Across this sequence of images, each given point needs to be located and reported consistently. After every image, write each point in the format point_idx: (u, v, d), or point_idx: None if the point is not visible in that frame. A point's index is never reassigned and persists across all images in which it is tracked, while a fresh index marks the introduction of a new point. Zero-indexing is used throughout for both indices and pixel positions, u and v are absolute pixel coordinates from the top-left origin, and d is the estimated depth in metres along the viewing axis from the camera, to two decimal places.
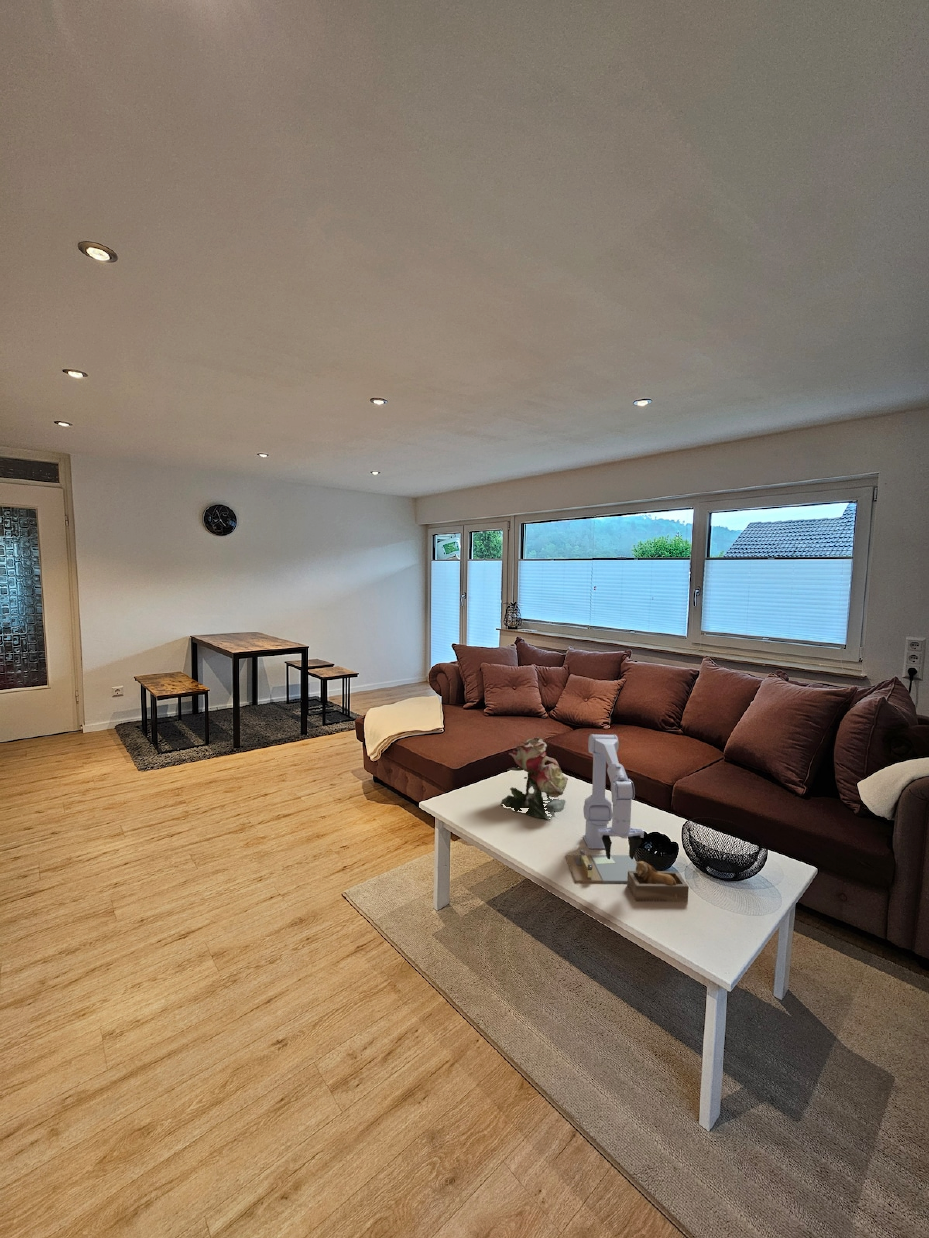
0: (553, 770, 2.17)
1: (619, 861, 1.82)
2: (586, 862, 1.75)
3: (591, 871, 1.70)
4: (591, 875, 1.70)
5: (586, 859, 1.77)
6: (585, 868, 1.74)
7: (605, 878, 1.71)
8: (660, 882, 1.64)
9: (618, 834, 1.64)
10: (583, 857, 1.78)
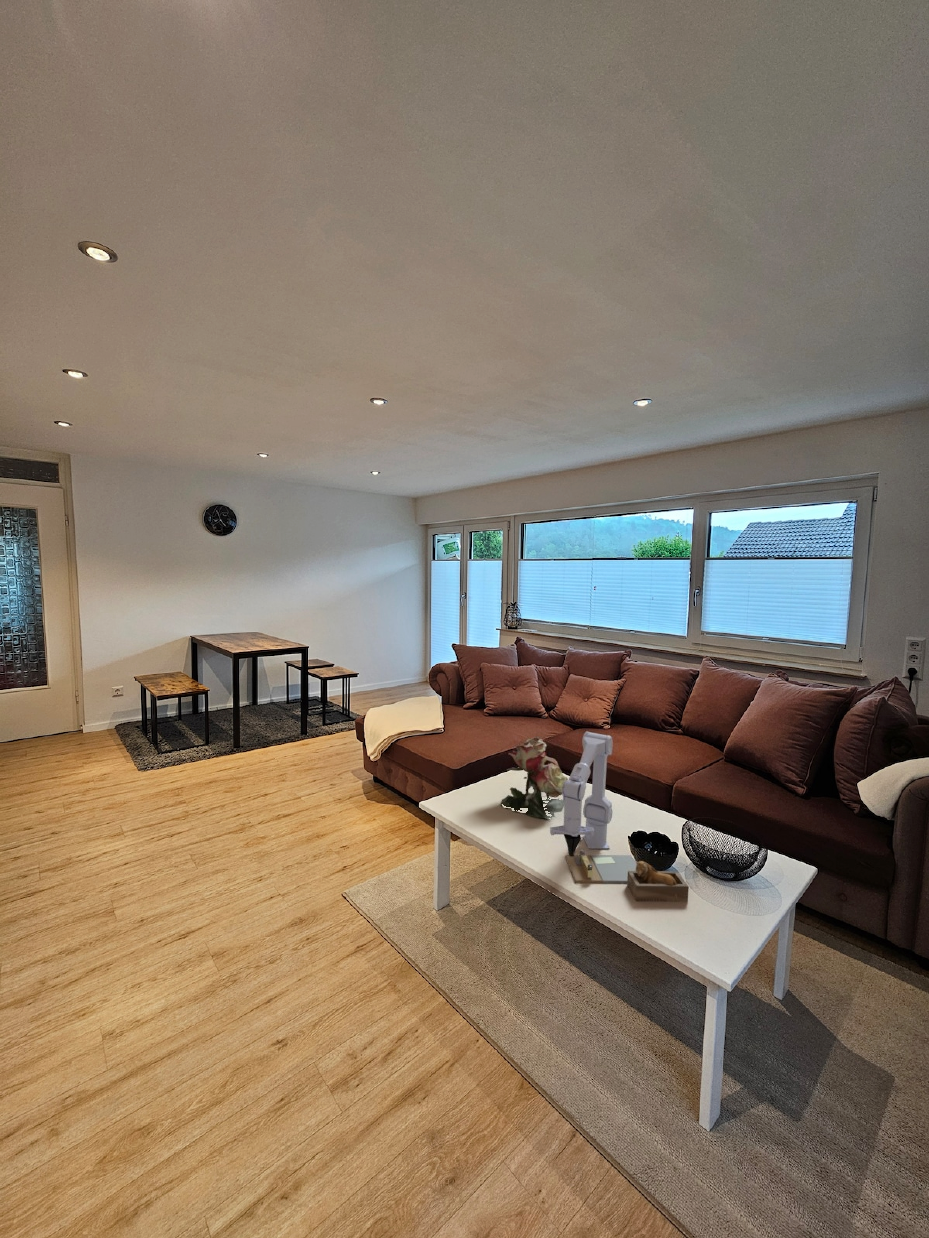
0: (553, 770, 2.17)
1: (619, 861, 1.82)
2: (586, 862, 1.75)
3: (591, 871, 1.70)
4: (591, 875, 1.70)
5: (586, 859, 1.77)
6: (585, 868, 1.74)
7: (605, 878, 1.71)
8: (660, 882, 1.64)
9: (569, 832, 1.70)
10: (583, 857, 1.78)
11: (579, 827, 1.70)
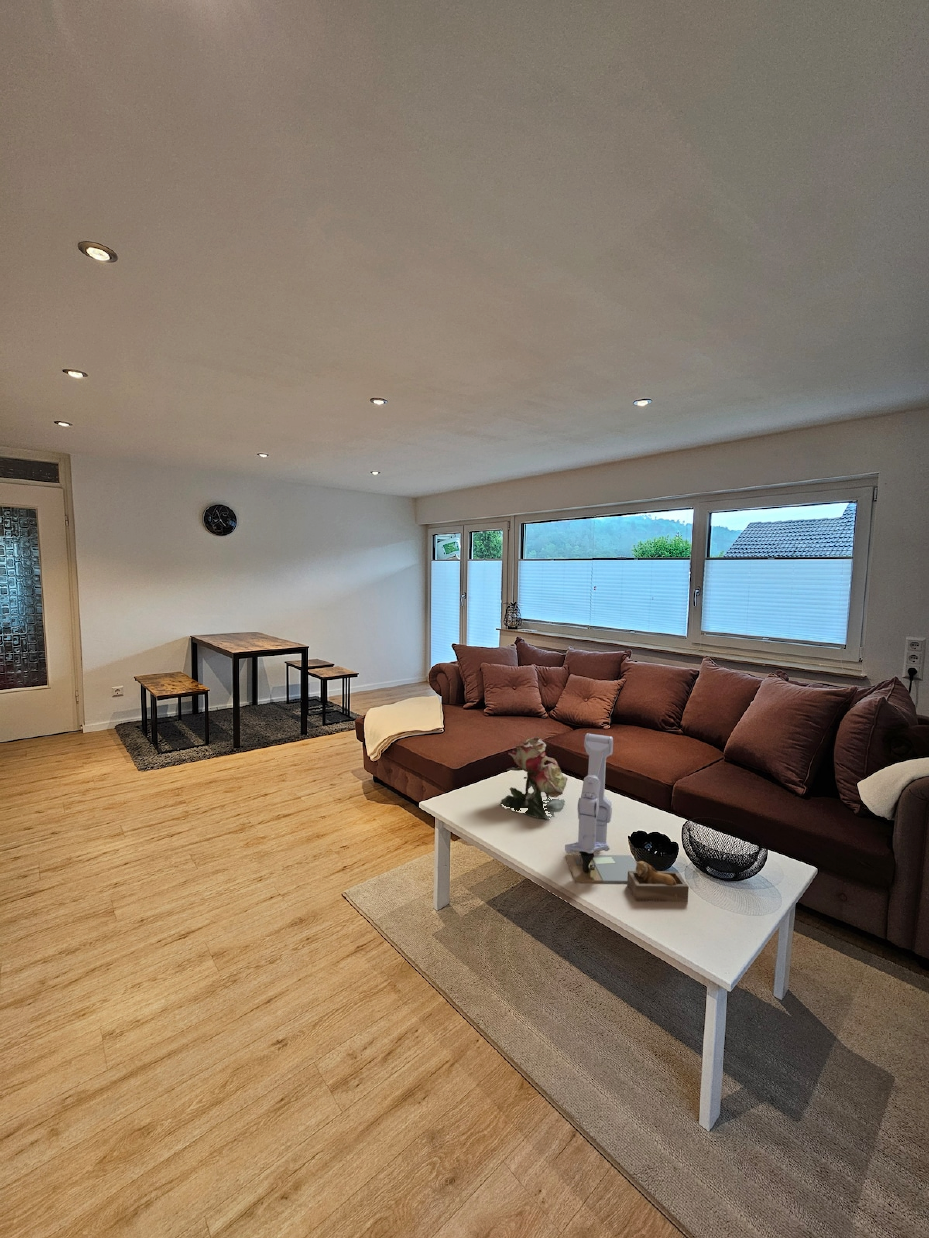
0: (553, 770, 2.17)
1: (619, 861, 1.82)
2: None
3: (594, 871, 1.70)
4: (594, 875, 1.71)
5: None
6: None
7: (605, 878, 1.71)
8: (660, 882, 1.64)
9: (584, 849, 1.70)
10: None
11: (594, 843, 1.71)
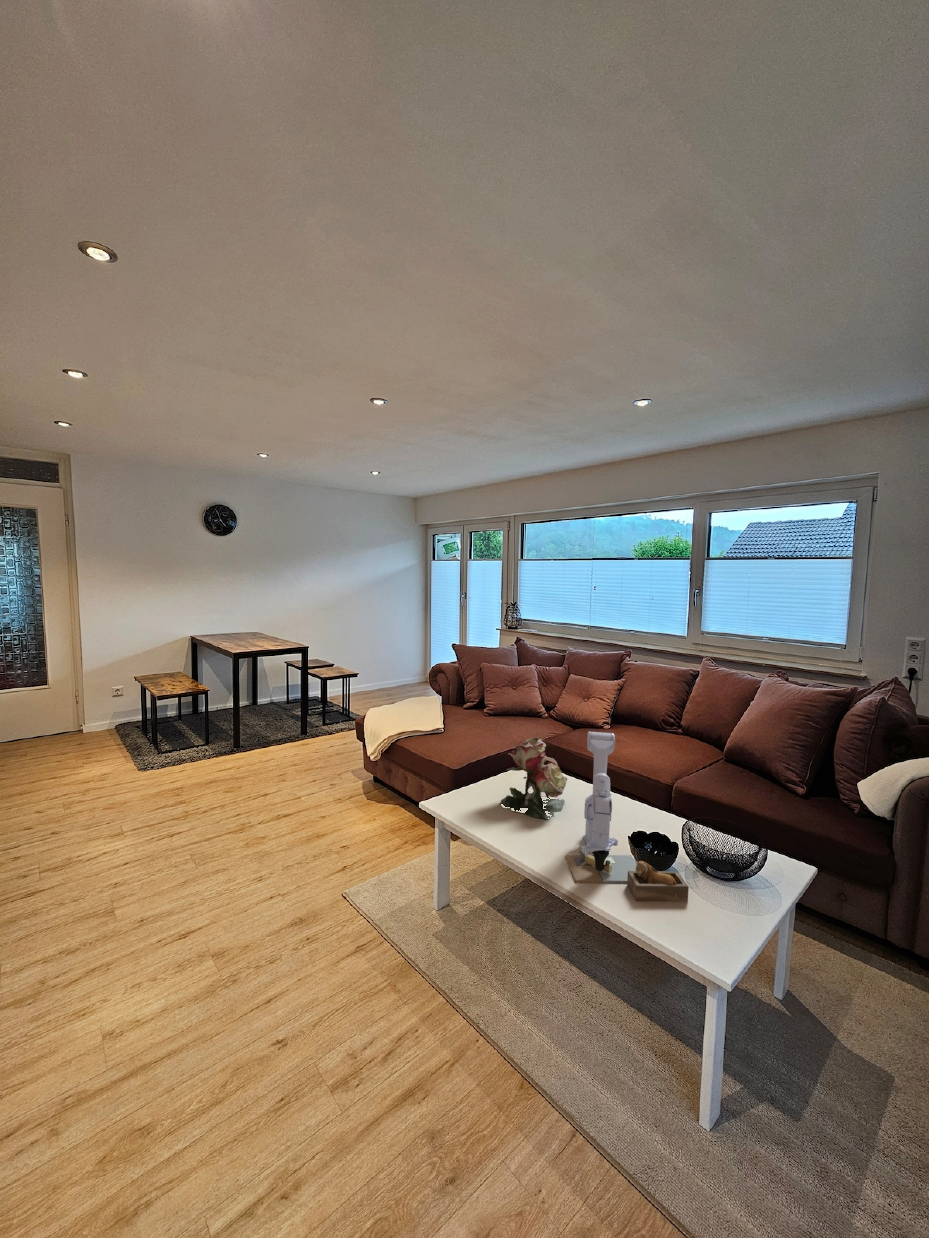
0: (552, 770, 2.17)
1: (619, 861, 1.82)
2: None
3: (610, 866, 1.74)
4: (610, 870, 1.74)
5: (593, 857, 1.78)
6: None
7: (605, 878, 1.71)
8: (660, 882, 1.64)
9: (602, 848, 1.71)
10: (589, 856, 1.79)
11: (608, 840, 1.73)
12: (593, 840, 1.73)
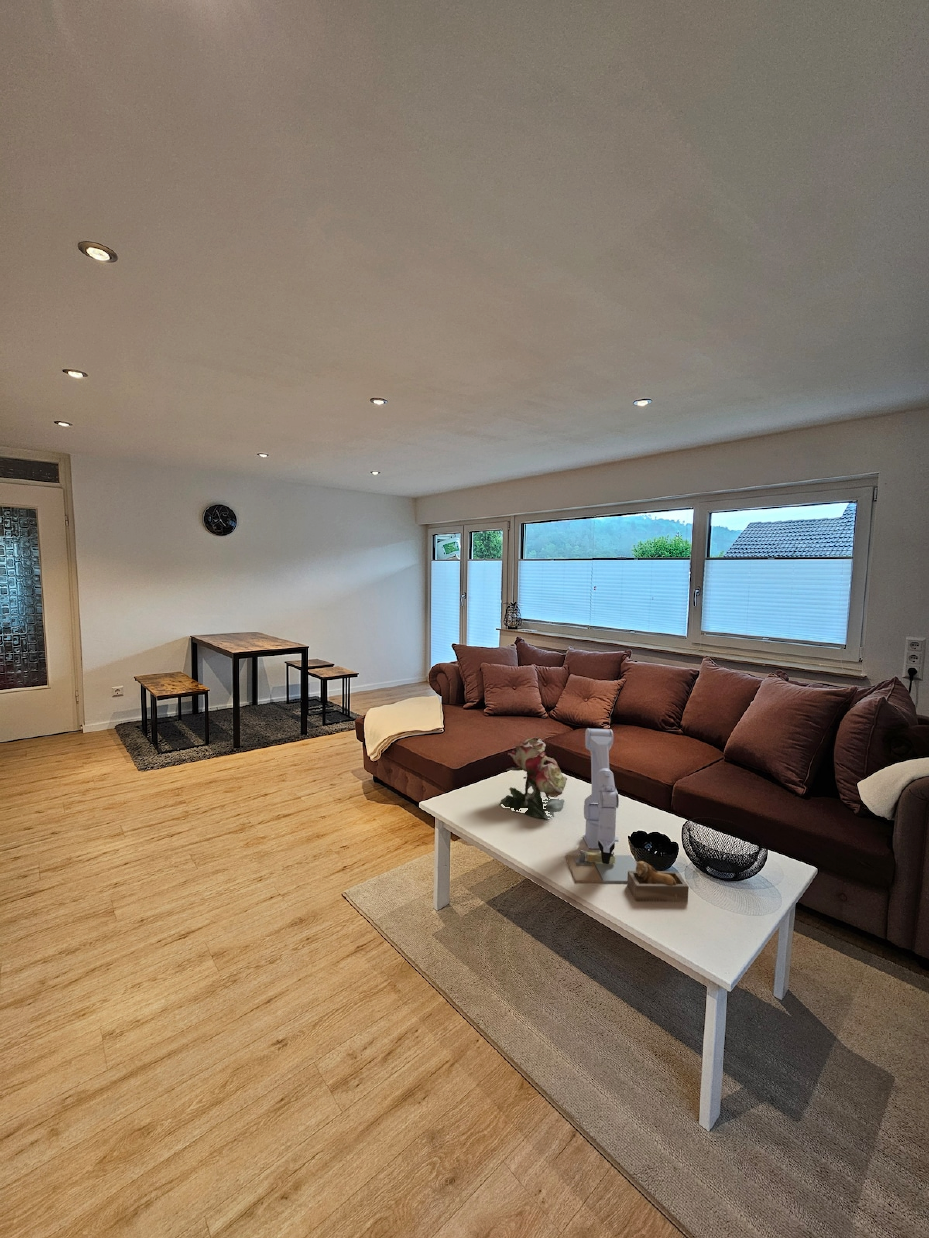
0: (552, 770, 2.17)
1: (619, 861, 1.82)
2: (600, 854, 1.80)
3: None
4: None
5: (594, 853, 1.81)
6: None
7: (605, 878, 1.71)
8: (660, 882, 1.64)
9: (614, 840, 1.76)
10: (591, 854, 1.81)
11: None
12: (605, 836, 1.76)
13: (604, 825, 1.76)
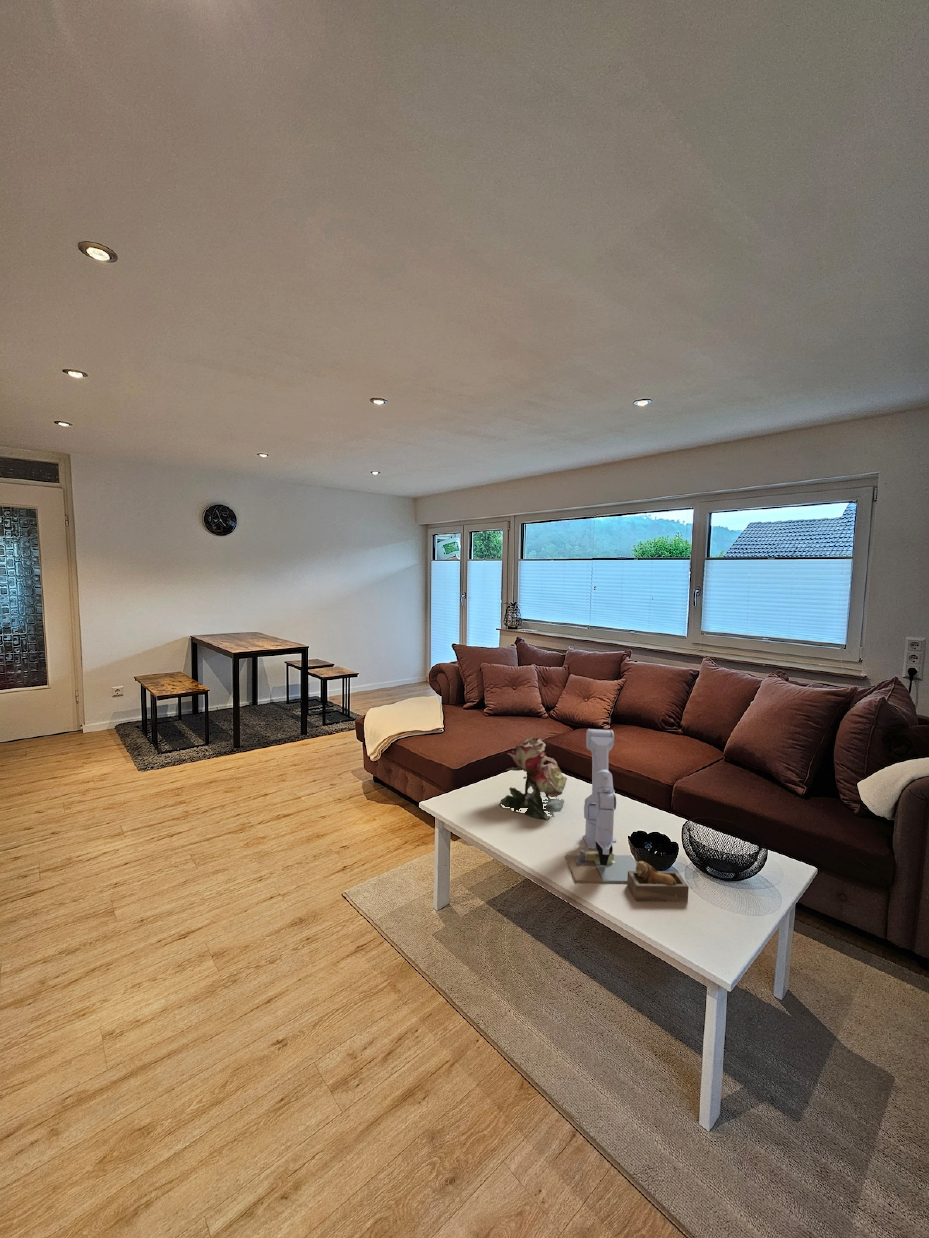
0: (552, 770, 2.17)
1: (619, 861, 1.82)
2: None
3: None
4: None
5: (594, 852, 1.82)
6: None
7: (605, 878, 1.71)
8: (660, 882, 1.64)
9: (612, 841, 1.76)
10: (591, 853, 1.81)
11: None
12: (603, 838, 1.75)
13: (601, 826, 1.75)
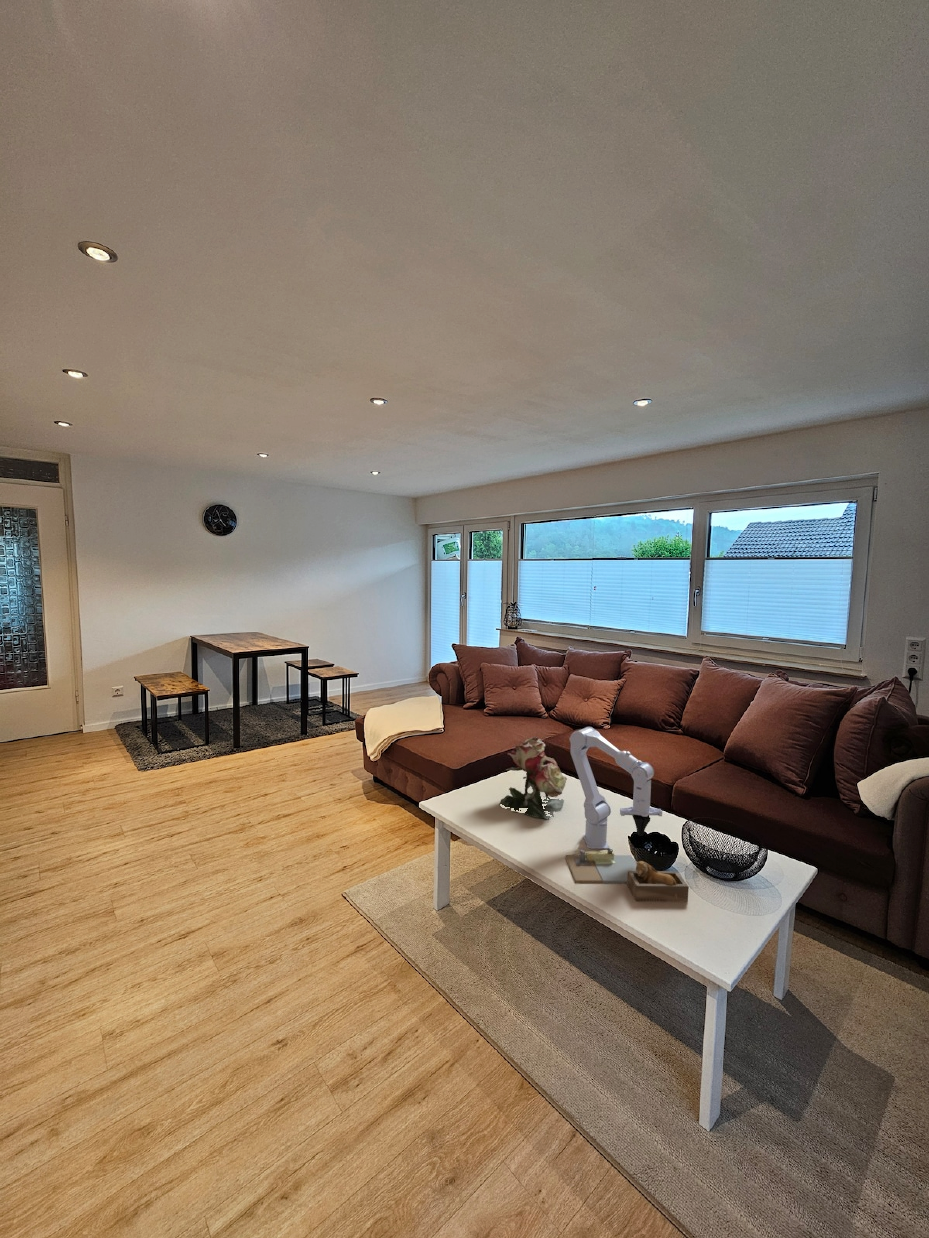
0: (552, 770, 2.17)
1: (619, 861, 1.82)
2: (600, 853, 1.81)
3: None
4: None
5: (594, 852, 1.82)
6: (604, 857, 1.81)
7: (605, 878, 1.71)
8: (660, 882, 1.64)
9: (639, 813, 1.80)
10: (591, 853, 1.81)
11: (648, 808, 1.81)
12: (633, 805, 1.83)
13: (646, 798, 1.80)
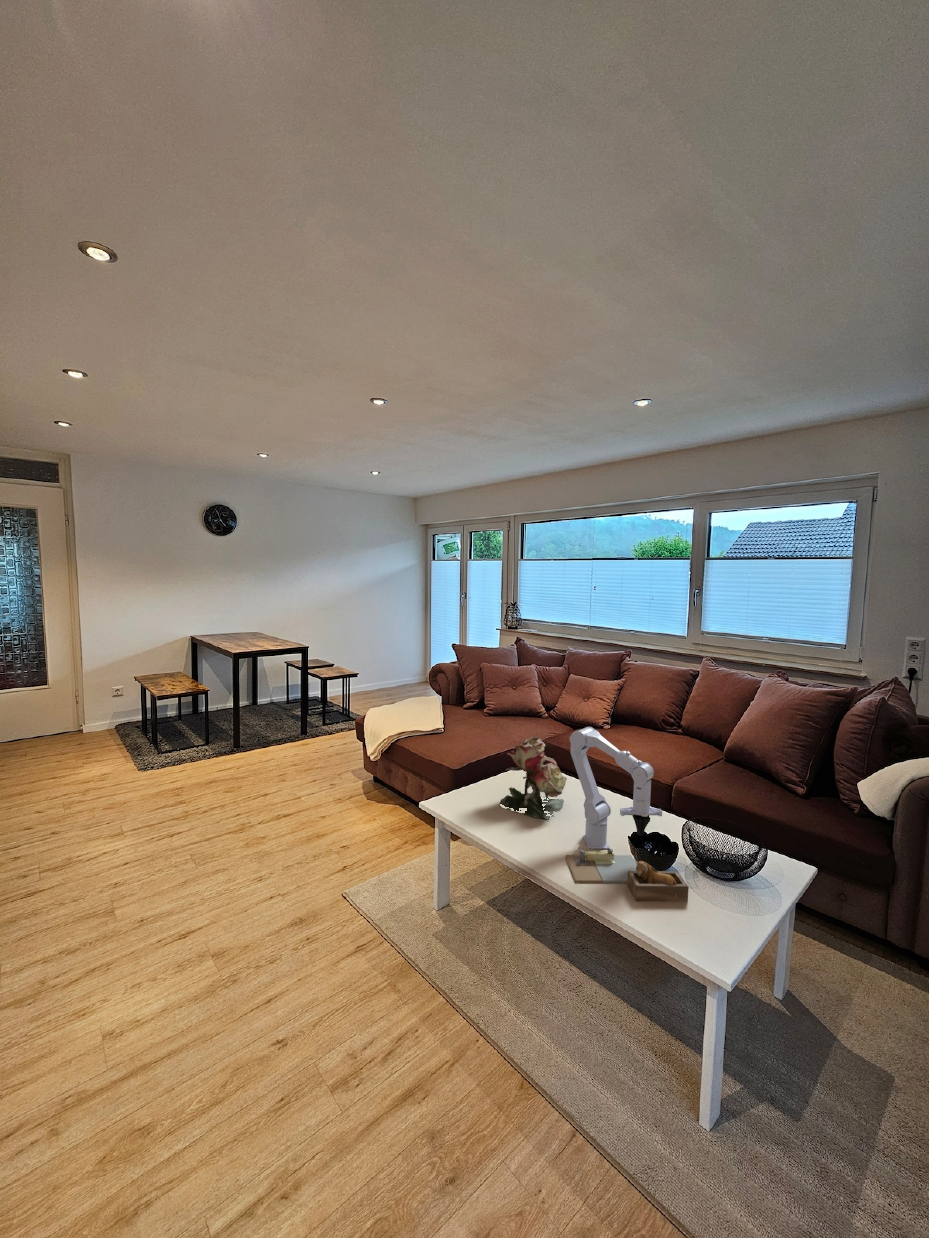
0: (552, 770, 2.17)
1: (619, 861, 1.82)
2: (600, 853, 1.81)
3: None
4: None
5: (594, 852, 1.82)
6: (604, 857, 1.81)
7: (605, 878, 1.71)
8: (660, 882, 1.64)
9: (639, 813, 1.80)
10: (591, 853, 1.81)
11: (648, 808, 1.81)
12: (633, 805, 1.83)
13: (646, 798, 1.80)
